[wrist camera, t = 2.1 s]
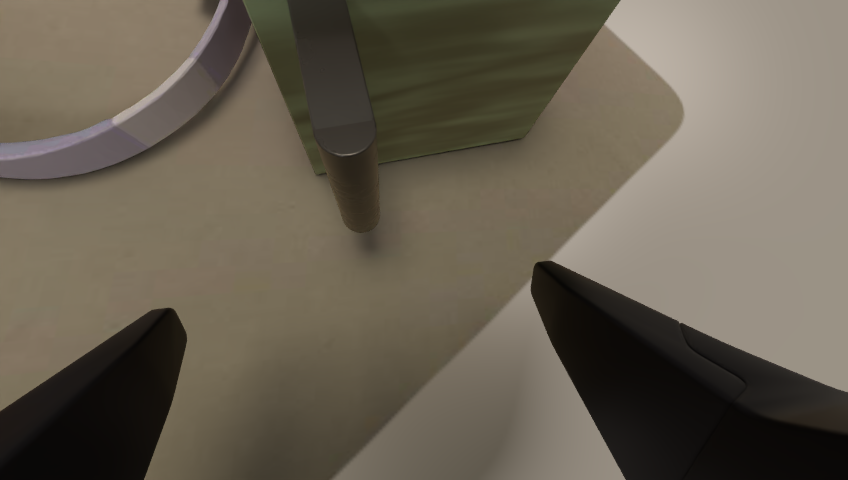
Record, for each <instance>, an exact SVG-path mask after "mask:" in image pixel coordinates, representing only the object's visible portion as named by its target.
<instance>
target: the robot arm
mask: <svg viewBox="0 0 848 480" xmlns="http://www.w3.org/2000/svg"><path fill="white" fill-rule="evenodd" d="M531 294H532V297H533V299H534V302H535V304H536V306H537V309H538V311H539V314H540V316H541V319H542V321H543V323H544V326H545V329H546V331H547V334H548V336H549V338H550V341H551V343H552V345H553V347H554V349H555V351H556V353H557V354H558V356H559V358H560V360H561V362H562V364H563V365H564V367H565V369H566V371H567V373H568V375H569V376H570V378H571V380H572V382H573V384H574V386H575V387H576V389H577V391H578V393H579V395H580V397H581V398H582V400H583V402H584V404H585V406H586V407H587V409H588V411H589V413H590V415H591V417H592V419H593V420H594V422H595V424H596V426H597V428H598V430H599V431H600V433H601V435H602V437H603V439H604V441H605V442H606V444H607V446H608V448H609V450H610V452H611V453H612V455H613V457H614V459H615V461H616V463H617V465H618V466H619V468H620V470H621V472H622V474H623V476H624V477H625V479H626V480H848V392H844V391H841V390H838V389H835V388H832V387H830V386H827V385H824V384H822V383H820V382H817V381H815V380H812V379H810V378H807V377H805V376H803V375H800V374H798V373H795V372H793V371H790V370H788V369H786V368H783V367H781V366H778V365H776V364H774V363H771V362H769V361H766V360H764V359H762V358H759V357H757V356H754V355H752V354H749V353H747V352H745V351H742V350H740V349H737V348H735V347H733V346H731V345H728V344H726V343H724V342H721V341H719V340H717V339H715V338H712V337H710V336H708V335H706V334H704V333H702V332H700V331H697V330H695V329H693V328H691V327H689V326H687V325H685V324H683V323H680V324H679V322H678V321H677V320H674V319H672V318H670V317H668V316H666V315H664V314H662V313H660V312H658V311H656V310H653V309H651V308H649V307H647V306H645V305H643V304H641V303H639V302H637V301H634V300H632V299H630V298H628V297H626V296H624V295H622V294H620V293H618V292H616V291H613V290H611V289H609V288H607V287H605V286H603V285H601V284H599V283H597V282H595V281H593V280H590V279H588V278H586V277H584V276H582V275H580V274H578V273H576V272H574V271H571V270H569V269H567V268H565V267H563V266H561V265H559V264H556V263H555V262H553V261H543V262H537V263H536V264H535V266H534V270H533V276H532V282H531ZM186 343H187V335H186V332H185V329H184V327H183V325H182V323H181V321H180V319H179V317H178V315H177V313H176V312H175V310H174V309H172V308H163V309H155V310H151V311H150V312H148V313H147V314H145V315H144V316H142V317H141V318H139V319H138V320H136V321H135V322H133V323H132V324H130V325H129V326H127V327H126V328H124V329H123V330H121V331H120V332H118V333H117V334H115V335H114V336H112V337H111V338H109V339H108V340H106V341H105V342H103V343H102V344H100V345H99V346H97V347H96V348H94V349H93V350H91V351H90V352H88V353H87V354H85V355H84V356H82V357H81V358H79V359H78V360H76V361H75V362H73V363H72V364H70V365H69V366H67V367H66V368H64V369H63V370H61V371H60V372H58V373H57V374H55V375H54V376H52V377H51V378H49V379H48V380H46V381H45V382H43V383H42V384H40V385H39V386H37V387H36V388H34V389H33V390H31V391H30V392H28V393H27V394H25V395H24V396H22V397H21V398H19V399H18V400H16V401H15V402H13V403H12V404H10V405H9V406H7V407H6V408H5V409H3V410H2V411H0V480H144V478H145V475H146V472H147V470H148V467H149V464H150V462H151V459H152V456H153V453H154V451H155V448H156V445H157V442H158V440H159V437H160V434H161V432H162V429H163V426H164V423H165V421H166V418H167V415H168V412H169V409H170V407H171V404H172V400H173V397H174V393H175V389H176V385H177V381H178V377H179V372H180V368H181V364H182V360H183V356H184V352H185V348H186Z"/></svg>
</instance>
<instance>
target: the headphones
mask: <svg viewBox="0 0 848 480" xmlns="http://www.w3.org/2000/svg"><path fill="white" fill-rule="evenodd" d="M251 23H252V22H251V19H250V17H249V15H248V12H247V10H246V7H245V5H244V3H243V0H220V2H219V5H218V8H217V10H216V12H215V14H214V16H213V19H212V21H211V23H210V25H209V26H208V28H207V30H206V32H205V33H204V35H203V37H202V39H201V40H200V42H199V43H198V45H197V46H196V47H195V49H194V50H193V51H192V53H191V54H190V56H189V58H188V59H186V60H185V62H184V63H183V64H182V65H181V66H180V67H179V68H178V69H177V70H176V71H175V72H174V73H173V74H172V75H171V76H170V77H169V78H168V79H167V80H166V81H165V82H164V83H163V84H162V85H160V86H159V87H158V88H157V89H155V90H154V91H153V92H152V93H150V94H149V95H147V96H146V97H145V98H143V99H142V100H140V101H139V102H137V103H136V104H134V105H133V106H132V107H130V108H128V109H126V110H124V111H123V112H121V113H120V114H118V115H116V116H115V117H113V118H112V119H107V120H104V121H102V122H100V123H98V124H96V125H94V126H92V127H89V128H87V129H84V130H81V131H78V132H75V133H70V134H66V135H61V136H57V137H52V138H47V139H42V140H35V141H25V142H15V143H0V177H4V178H15V179H52V178H58V177H65V176H72V175H78V174H84V173H88V172H91V171H95V170H98V169H101V168H104V167H108V166H111V165H114V164H116V163H119V162H121V161H123V160H126V159H128V158H130V157H132V156H134V155H136V154H138V153H140V152H142V151H144V150H146V149H148V148H150V147H152V146H153V145H155V144H156V143H158V142H160V141H161V140H163V139H164V138H166V137H167V136H169V135H170V134H172V133H173V132H175V131H176V130H177V129H179V128H180V127H181V126H183V125H184V124H185V123H186V122H187V121H189V120H190V119H191V118H192V117H194V116H195V115H196V114H197V113H198V112H199V111H200V110H201V109H202V108H203V107H204V106H205V105H206V104H207V103H208V102H209V101H210V100H211V99H212V98H213V97H214V95H215V94H216V92H217V91H218V90H219V88H220V87H221V86H222V84H223V83H224V81H225V80H226V79H227V77H228V76H229V74H230V72H231V70H232V68H233V67H234V65H235V63H236V62H237V59H238V57H239V55H240V53H241V51H242V49H243V46H244V43H245V40H246V37H247V35H248V32H249V29H250V26H251Z"/></svg>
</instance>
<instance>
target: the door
mask: <svg viewBox="0 0 848 480" xmlns="http://www.w3.org/2000/svg"><path fill="white" fill-rule="evenodd" d="M619 2H620V0H243V3H244V5H245V7H246V10H247V12H248V15H249V17H250V19H251V22H252V24H253V26H254V29H255V31H256V34H257V36H258V38H259V41H260V43H261V45H262V48H263V50H264V53H265V55H266V57H267V60H268V62H269V65H270V67H271V69H272V72H273V74H274V76H275V79H276V81H277V84H278V86H279V88H280V91H281V93H282V95H283V98H284V100H285V103H286V105H287V107H288V110H289V112H290V115H291V117H292V119H293V122H294V124H295V126H296V129H297V131H298V134H299V136H300V138H301V141H302V143H303V145H304V148H305V150H306V153H307V155H308V157H309V160H310V162H311V165H312V167H313V169H314V172H315V174H322V173H327V176H328V179H329V181H330V184H331V187H332V190H333V193H334V196H335V199H336V201H337V204H338V207H339V210H340V213H341V216H342V219H343V221H344V223H345V225H346V226H347V227H348V228H349V229H350V230H352V231H354V232H358V233H363V232H368V231H370V230H372V229H373V228H374V227H375V226H376V225H377V223H378V221H379V218H380V207H379V178H378V164H379V163H384V162H390V161H396V160H401V159H407V158H412V157H418V156H424V155H429V154H435V153H441V152H446V151H452V150H457V149H463V148H469V147H474V146H480V145H486V144H491V143H497V142H502V141H508V140H514V139H519V138H524V137H525V136H526V134H527V133H528V131H529V130H530V129H531V127H532V126H533V124H534V123H535V121H536V120H537V119H538V117H539V116H540V114H541V113H542V111H543V110H544V109H545V107H546V106H547V104H548V103H549V102H550V100H551V99H552V97H553V96H554V94H555V93H556V92H557V90H558V89H559V87H560V86H561V84H562V83H563V82H564V80H565V79H566V77H567V76H568V74H569V73H570V72H571V70H572V69H573V67H574V66H575V64H576V63H577V62H578V60H579V59H580V57H581V56H582V54H583V53H584V52H585V50H586V49H587V47H588V46H589V45H590V43H591V42H592V40H593V39H594V37H595V36H596V35H597V33H598V32H599V30H600V29H601V27H602V26H603V25H604V23H605V22H606V20H607V19H608V17H609V15H611V13H612V12H613V10H614V9H615V7H616V6H617V4H618V3H619Z"/></svg>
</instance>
